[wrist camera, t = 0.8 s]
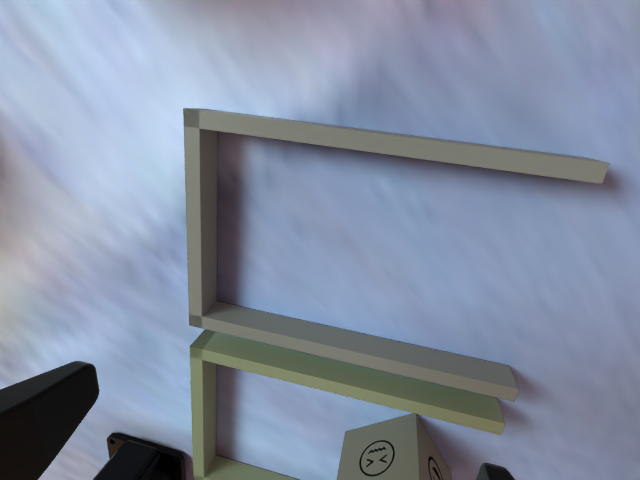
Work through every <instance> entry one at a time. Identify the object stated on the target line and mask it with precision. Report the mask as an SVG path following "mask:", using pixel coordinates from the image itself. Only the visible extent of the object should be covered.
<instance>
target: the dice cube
mask: <svg viewBox="0 0 640 480" xmlns="http://www.w3.org/2000/svg"><path fill="white" fill-rule="evenodd" d="M337 480H452V475H451V471H450V469H449V467H448V466H447V464H446V462H445V461H444V459H443V457H442V456H441V454H440V452H439V451H438V449H437V447H436V446H435V444H434V442H433V441H432V439H431V437H430V435H429V434H428V432H427V430H426V429H425V427H424V425H423V424H422V422H421V420H420V419H419V417H418V415H417V414H415V413H412V414H409V415H405V416H401V417H398V418H394V419H390V420H386V421H383V422H379V423H375V424H372V425H368V426H364V427H361V428H357V429H353V430H349V431H346V432H345V436H344V442H343V447H342V453H341V459H340V464H339V470H338V476H337Z"/></svg>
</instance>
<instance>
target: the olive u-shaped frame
mask: <svg viewBox="0 0 640 480" xmlns="http://www.w3.org/2000/svg"><path fill="white" fill-rule="evenodd" d="M183 113H184V150H185V186H186V222H187V259H188V295H189V325H190V326H194V327H199V328H203V329H207V330H211V331H216V332H220V333H224V334H228V335H233V336H237V337H241V338H245V339H250V340H254V341H258V342H262V343H267V344H271V345H275V346H279V347H284V348H288V349H292V350H296V351H301V352H305V353H309V354H313V355H318V356H322V357H326V358H330V359H334V360H339V361H343V362H347V363H351V364H356V365H360V366H364V367H368V368H373V369H377V370H381V371H385V372H390V373H394V374H398V375H402V376H407V377H411V378H415V379H419V380H424V381H428V382H432V383H436V384H441V385H445V386H449V387H453V388H458V389H462V390H466V391H470V392H475V393H479V394H483V395H487V396H492V397H496V398H500V399H504V400H508V401H513V402H514V401H515V399H516V396H517V394H518V391H519V388H518V386H517V383H516V381H515V379H514V376H513V374H512V372H511V369H510V367H509V366H508V365H503V364H499V363H494V362H490V361H485V360H481V359H476V358H472V357H467V356H463V355H458V354H453V353H449V352H444V351H440V350H435V349H431V348H426V347H422V346H417V345H413V344H408V343H404V342H399V341H395V340H390V339H385V338H381V337H376V336H372V335H367V334H363V333H358V332H354V331H349V330H345V329H340V328H336V327H331V326H327V325H322V324H318V323H313V322H308V321H304V320H299V319H295V318H290V317H286V316H281V315H277V314H272V313H268V312H263V311H259V310H254V309H250V308H245V307H241V306H236V305H231V304H227V303H222V302H218V301H217V157H218V131H221V132H229V133H236V134H243V135H251V136H258V137H265V138H272V139H280V140H287V141H294V142H301V143H309V144H316V145H323V146H330V147H338V148H345V149H352V150H359V151H367V152H374V153H381V154H388V155H396V156H403V157H410V158H418V159H425V160H432V161H439V162H447V163H454V164H461V165H468V166H476V167H483V168H490V169H497V170H505V171H512V172H519V173H526V174H534V175H541V176H548V177H555V178H563V179H570V180H577V181H585V182H592V183H599V184H602V182H603V180H604V177H605V175H606V172H607V170H608V167H609V165H610V163H606V162H602V161H598V160H594V159H590V158H585V157H577V156H569V155H561V154H553V153H546V152H538V151H530V150H522V149H514V148H507V147H499V146H491V145H483V144H475V143H467V142H460V141H452V140H444V139H436V138H428V137H420V136H413V135H405V134H397V133H389V132H381V131H373V130H366V129H358V128H350V127H342V126H334V125H327V124H319V123H311V122H303V121H295V120H287V119H280V118H272V117H264V116H256V115H248V114H240V113H233V112H225V111H217V110H209V109H189V108H183Z"/></svg>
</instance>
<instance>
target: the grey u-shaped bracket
mask: <svg viewBox="0 0 640 480" xmlns="http://www.w3.org/2000/svg"><path fill="white" fill-rule="evenodd" d="M216 364H220V365H224V366H228V367H232V368H236V369H240V370H244V371H248V372H252V373H256V374H260V375H264V376H268V377H272V378H276V379H280V380H284V381H288V382H292V383H296V384H300V385H304V386H308V387H312V388H316V389H320V390H324V391H328V392H332V393H336V394H340V395H344V396H348V397H351V398H355V399H359V400H363V401H367V402H371V403H375V404H379V405H383V406H387V407H391V408H395V409H399V410H403V411H407V412H411V413H415V414H419V415H423V416H427V417H431V418H435V419H439V420H443V421H447V422H451V423H455V424H459V425H463V426H467V427H471V428H475V429H479V430H483V431H487V432H491V433H495V434H499V435H501V434H502V431H503V429H504V426H505V421H504V418H503V415H502V412H501V409H500V406H499V403H498V400H497V398H494V397H490V396H485V395H481V394H477V393H473V392H469V391H464V390H460V389H456V388H452V387H447V386H443V385H439V384H435V383H430V382H426V381H422V380H418V379H413V378H409V377H405V376H401V375H396V374H392V373H388V372H384V371H379V370H375V369H371V368H367V367H363V366H358V365H354V364H350V363H346V362H341V361H337V360H333V359H329V358H324V357H320V356H316V355H312V354H307V353H303V352H299V351H295V350H290V349H286V348H282V347H278V346H273V345H269V344H265V343H261V342H257V341H252V340H248V339H244V338H240V337H235V336H231V335H227V334H223V333H218V332H214V331H210V330H206V329H205V330H204V331H203V332H202V333H201V335H200V336H199V337H198V338H197V339H196V340H195V341H194V342H193V343H192V344H191V346H190V368H191V404H192V441H193V477H194V480H298V479H295V478H291V477H288V476H285V475H281V474H278V473H275V472H271V471H268V470H264V469H261V468H258V467H254V466H251V465H247V464H244V463H241V462H237V461H234V460H231V459H227V458H224V457H220V456H217V455H216Z"/></svg>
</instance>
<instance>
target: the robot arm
mask: <svg viewBox="0 0 640 480" xmlns="http://www.w3.org/2000/svg"><path fill="white" fill-rule="evenodd" d="M98 395H99V385H98V379H97V373H96V368H95V366H94V365H93V364H90V363H86V362H82V361H74V362H71V363H69V364H66V365H64V366H61V367H58V368H56V369H53V370H51V371H48V372H45V373H43V374H40V375H37V376H35V377H32V378H30V379H27V380H24V381H22V382H19V383H16V384H14V385H11V386H9V387H6V388H3V389H1V390H0V480H38V479H39V477H40V476H41V475H42V474H43V473H44V471H45V470H46V469H47V468H48V466H49V465H50V464H51V462H52V461H53V460H54V458H55V457H56V456H57V455H58V453H59V452H60V450H61V449H62V448H63V446H64V445H65V443H66V442H67V441H68V439H69V438H70V437H71V435H72V434H73V432H74V431H75V430H76V428H77V427H78V426H79V424H80V423H81V421H82V420H83V419H84V417H85V416H86V414H87V413H88V412H89V410H90V409H91V408H92V406H93V405H94V403H95V402H96V400H97V398H98ZM107 444H108V451H109V458H110V460H109V461H108V462H107V463H106V464H105V466H104V467H103V468H102V469H101V470H100V472H99V473H98V474H97V475H96V476H95V477H94V479H93V480H185V466H184V456H183V455H182V454H181V453H180V452H177V451H174V450H171V449H167V448H164V447H161V446H157V445H154V444H151V443H147V442H144V441H141V440H137V439H134V438H131V437H127V436H124V435H121V434H117V433H111V435H110V436H109V437H108V438H107ZM476 480H515V479H514V478H513V476H512V475H511V474H510V472H509V471H508V470H507V469H506V468H504V467H502V466H498V465H494V464H490V463H483V464H482V465H481V467H480V470H479V473H478V476H477V478H476Z"/></svg>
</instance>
